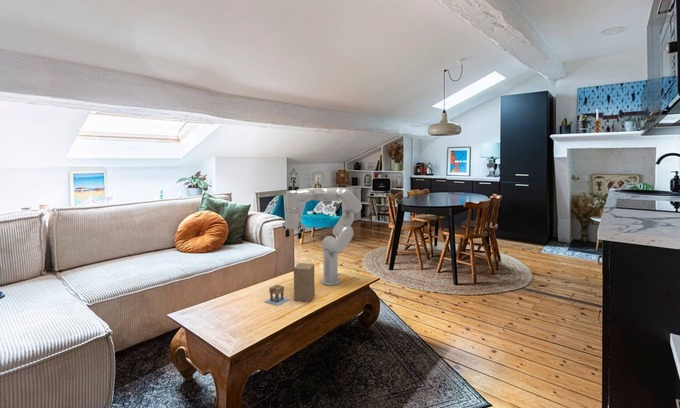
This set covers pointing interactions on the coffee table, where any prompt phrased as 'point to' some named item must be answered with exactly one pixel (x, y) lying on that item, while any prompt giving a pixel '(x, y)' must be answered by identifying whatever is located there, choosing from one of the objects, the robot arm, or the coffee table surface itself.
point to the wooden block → (304, 282)
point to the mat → (275, 301)
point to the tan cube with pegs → (276, 292)
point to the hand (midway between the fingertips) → (293, 237)
